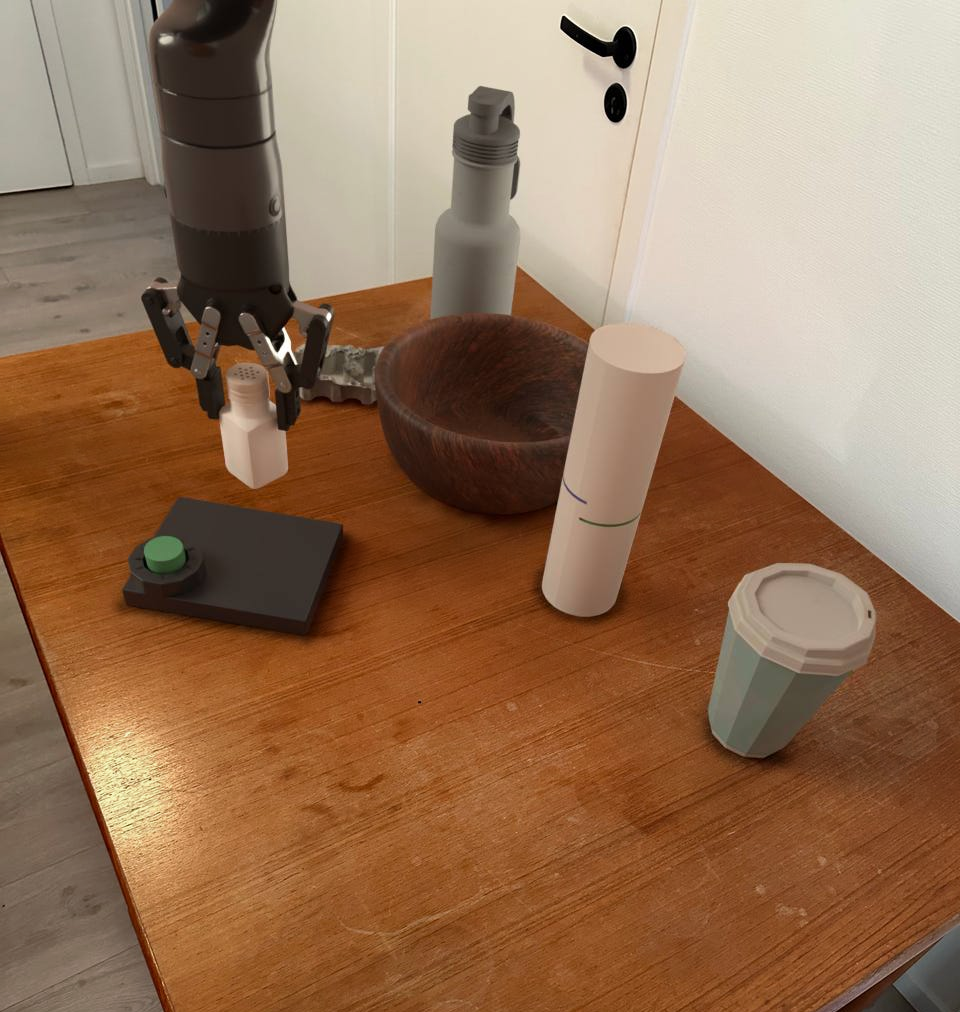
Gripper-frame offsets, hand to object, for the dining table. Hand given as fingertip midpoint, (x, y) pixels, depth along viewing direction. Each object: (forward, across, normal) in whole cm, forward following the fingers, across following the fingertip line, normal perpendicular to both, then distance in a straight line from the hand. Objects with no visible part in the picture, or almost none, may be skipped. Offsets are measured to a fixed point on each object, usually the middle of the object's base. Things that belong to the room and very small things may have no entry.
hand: (251, 418), depth 72 cm
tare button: (+12, +7, +6) cm, 15 cm away
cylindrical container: (+15, -29, -3) cm, 33 cm away
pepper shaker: (+6, 0, 0) cm, 6 cm away
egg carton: (+16, +1, -30) cm, 34 cm away
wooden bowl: (+16, -18, -21) cm, 32 cm away
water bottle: (+16, -12, -44) cm, 48 cm away
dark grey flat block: (+15, +2, +2) cm, 16 cm away
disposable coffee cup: (+15, -44, +10) cm, 48 cm away
